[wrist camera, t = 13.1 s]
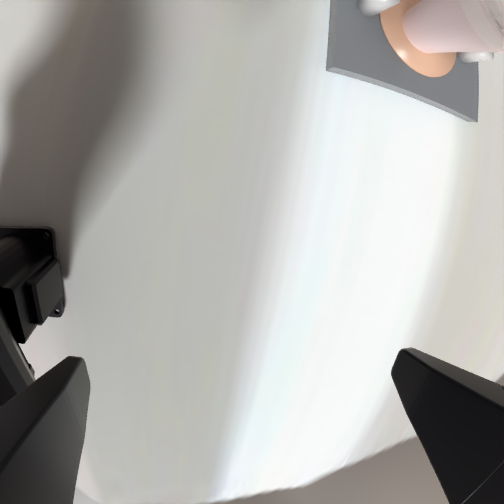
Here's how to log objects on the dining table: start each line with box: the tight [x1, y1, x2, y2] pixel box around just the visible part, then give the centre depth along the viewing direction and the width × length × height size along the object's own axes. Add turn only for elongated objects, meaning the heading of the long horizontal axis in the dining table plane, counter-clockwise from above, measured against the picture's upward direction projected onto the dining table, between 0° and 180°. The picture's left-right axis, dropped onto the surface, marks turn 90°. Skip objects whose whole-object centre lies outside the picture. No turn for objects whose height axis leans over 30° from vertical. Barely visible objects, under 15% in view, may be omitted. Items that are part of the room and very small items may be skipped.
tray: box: [326, 0, 494, 122], centre depth 15 cm, size 14×11×4 cm
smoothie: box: [402, 0, 504, 53], centre depth 9 cm, size 6×6×14 cm
